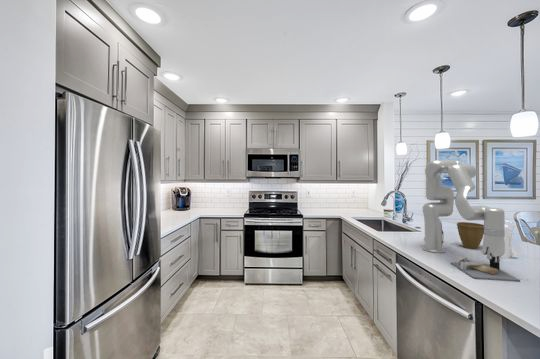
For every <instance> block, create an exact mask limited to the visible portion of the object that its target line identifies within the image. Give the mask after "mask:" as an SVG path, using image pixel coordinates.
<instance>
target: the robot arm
mask: <svg viewBox="0 0 540 359" xmlns="http://www.w3.org/2000/svg"><path fill="white" fill-rule="evenodd" d="M477 170H478V169H477V168H476V167H475V166H474V165H473V164H470V163H467V162H465V161H464V162H463V161H460V160H456V159H436V160H431V161H429V162H428V163H427V164H426V166H425V169H424V173H425V178H426V179H425V181H426V182H425V197H426V199H427V200H429V201H432V202H426V203H424V205H422V214H423V218H424V237H425V239H424V245H423V246H422V247H421V249H422V250H423V251H426V252H429V253H434V254H435V253H436V254H439V253H440V254H442V253H443V254H444V253H446V249H445V248H443V242H442V230H443V224H442V221H441V219H440V218H441V217H443V218H444V217H449V216H451V215H452V214H453V212H454V206H455V207H456V210H457V212H458V214H459V215H460V216H461V218H462V219H464V220H465V221H483V225H484V235H483V238H482V254H483V255H485V256H486V259H488V261H489V264H490V267H492V268H496V269H498V270H501V269H500V262H501V258H500V257H502V255H504V254H505V243H504V237H505V225H506V224H505V220H506V217H505V210H504V209H503V208H499V207H490V206H486V205H470V203H469V201H468V194H469V193H471V192H473V191H474V190H475V189H476V185H475V184H474V181H473V180H472V179H474V178H475V177H476V176H477V174H478V171H477ZM441 174H448V176H449V179H450V181H451V182H452V185H453V186H454V188H455V191H456V194H455V193H454V190H453V188H451V187H450V186H449V185H443V179H442V177H441ZM454 194H455V195H454ZM433 201H436V202H433ZM437 201H439V202H437ZM454 204H455V205H454Z"/></svg>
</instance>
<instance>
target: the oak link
mask: <svg viewBox="0 0 540 359" xmlns="http://www.w3.org/2000/svg"><path fill="white" fill-rule="evenodd" d="M460 261H463V262H472V261H471V260H468V258H467V257H462V259H458V263H459V264H461V263H460ZM466 266H467V267H470V268H474V269H477V270H480V271H483V272H487V273H490V274H496V273H498V269H496V268H492V267H489V266H485V265H483V266H481V265H466Z"/></svg>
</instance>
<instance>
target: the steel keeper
mask: <svg viewBox="0 0 540 359" xmlns="http://www.w3.org/2000/svg"><path fill="white" fill-rule="evenodd" d="M460 263H461V269H462V270H466V265H481V266H483V264H484V263H481V261H480V262H479V261H471V262H463V261H460Z"/></svg>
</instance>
